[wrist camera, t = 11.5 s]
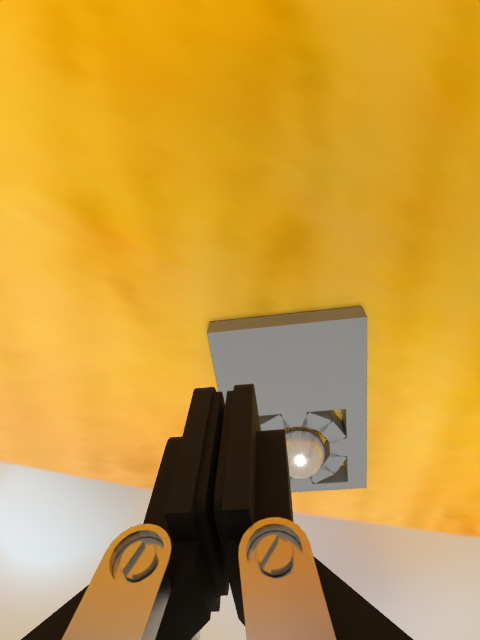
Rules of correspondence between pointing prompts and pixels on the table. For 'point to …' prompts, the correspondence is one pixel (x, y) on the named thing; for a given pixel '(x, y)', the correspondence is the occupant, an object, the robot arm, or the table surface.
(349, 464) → the hole board
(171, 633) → the robot arm
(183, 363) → the table surface
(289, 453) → the steel ball
